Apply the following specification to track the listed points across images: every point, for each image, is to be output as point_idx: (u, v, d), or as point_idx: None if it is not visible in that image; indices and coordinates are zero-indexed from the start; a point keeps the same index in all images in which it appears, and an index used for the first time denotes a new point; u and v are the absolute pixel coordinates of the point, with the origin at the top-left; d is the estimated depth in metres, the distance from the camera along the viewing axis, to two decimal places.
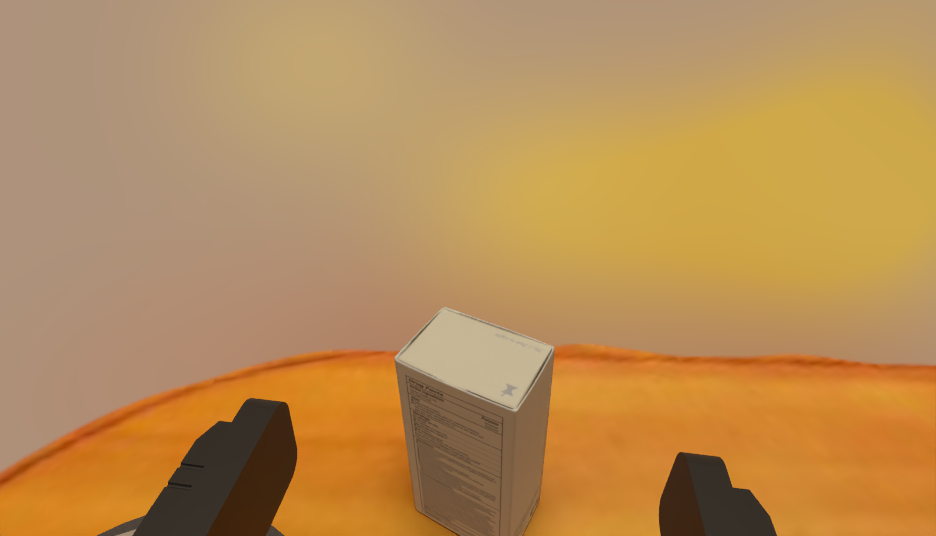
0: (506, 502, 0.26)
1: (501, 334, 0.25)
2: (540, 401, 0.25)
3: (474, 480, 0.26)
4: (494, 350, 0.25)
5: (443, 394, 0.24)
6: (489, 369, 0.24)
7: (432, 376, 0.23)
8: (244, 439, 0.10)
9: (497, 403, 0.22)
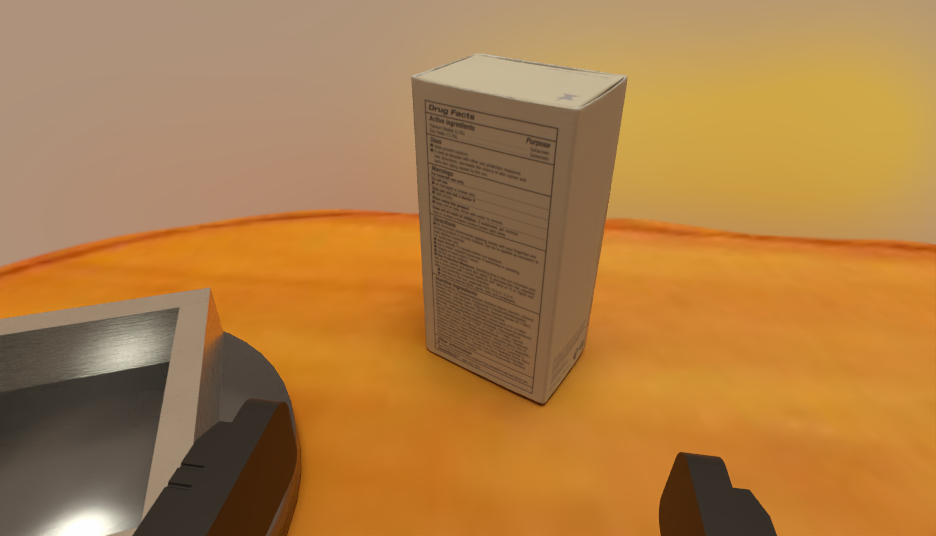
0: (550, 295, 0.19)
1: (554, 69, 0.19)
2: (604, 148, 0.18)
3: (507, 268, 0.19)
4: (545, 75, 0.18)
5: (474, 116, 0.17)
6: (539, 85, 0.17)
7: (461, 88, 0.17)
8: (244, 439, 0.10)
9: (552, 106, 0.16)
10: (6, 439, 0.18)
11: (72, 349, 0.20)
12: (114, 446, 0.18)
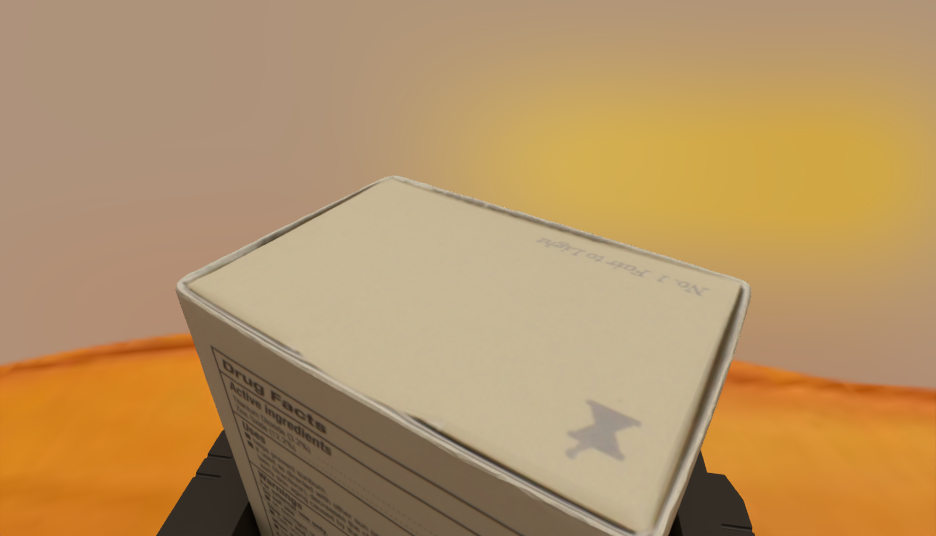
0: None
1: (558, 241, 0.08)
2: None
3: None
4: (535, 279, 0.07)
5: (324, 427, 0.06)
6: (515, 340, 0.06)
7: (286, 350, 0.06)
8: None
9: (550, 492, 0.04)
10: None
11: None
12: None
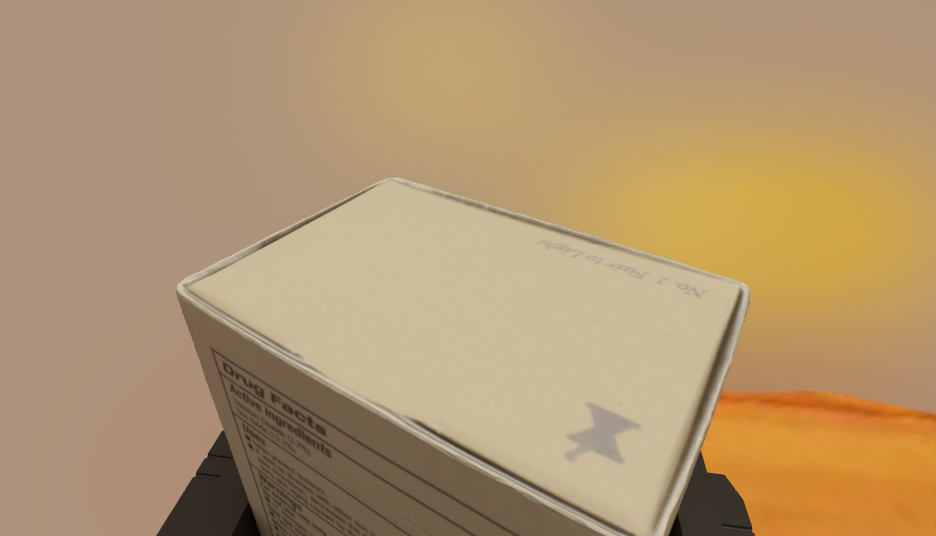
0: None
1: (557, 243, 0.08)
2: None
3: None
4: (536, 281, 0.07)
5: (325, 429, 0.06)
6: (515, 343, 0.06)
7: (285, 352, 0.06)
8: None
9: (551, 495, 0.05)
10: None
11: None
12: None
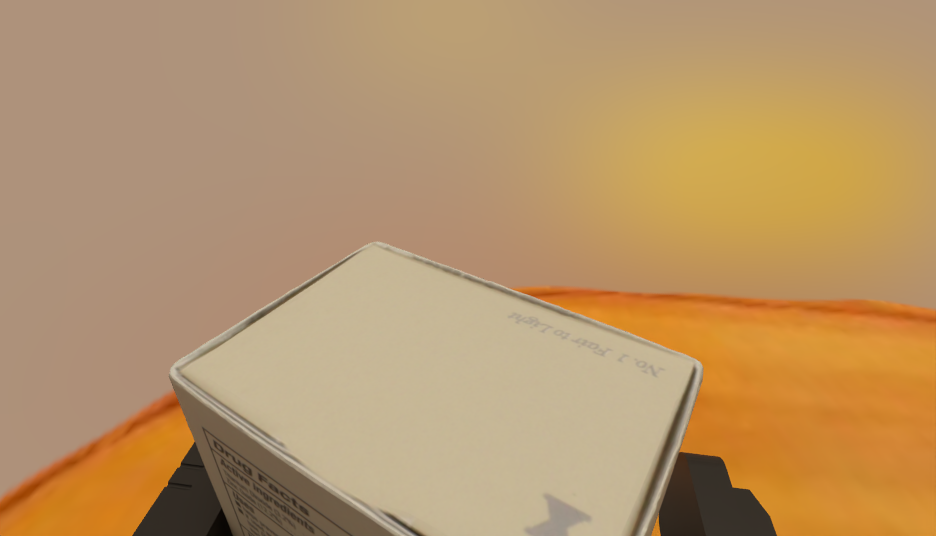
0: None
1: (528, 316, 0.08)
2: None
3: None
4: (504, 360, 0.07)
5: (308, 511, 0.06)
6: (482, 429, 0.06)
7: (270, 441, 0.06)
8: None
9: None
10: None
11: None
12: None
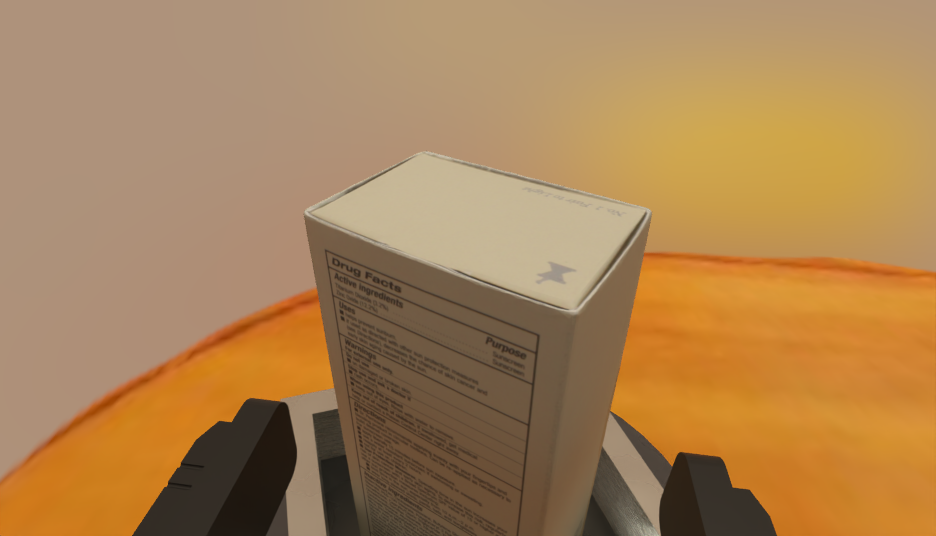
0: None
1: (536, 189, 0.12)
2: (616, 326, 0.11)
3: (464, 493, 0.13)
4: (521, 208, 0.11)
5: (400, 288, 0.10)
6: (509, 237, 0.10)
7: (378, 242, 0.10)
8: (244, 439, 0.10)
9: (528, 297, 0.09)
10: None
11: None
12: None
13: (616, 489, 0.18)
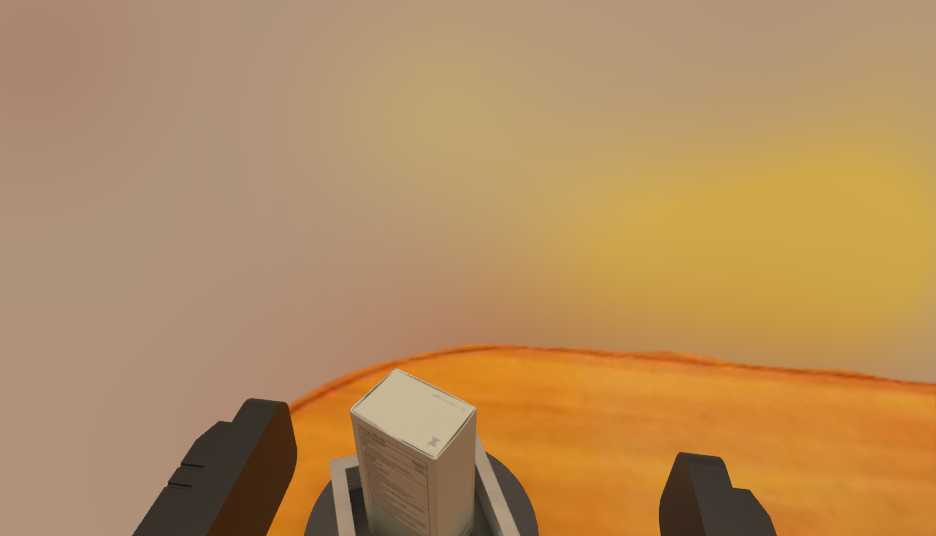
0: (434, 530, 0.32)
1: (437, 394, 0.32)
2: (463, 450, 0.31)
3: (410, 510, 0.32)
4: (429, 407, 0.31)
5: (384, 441, 0.30)
6: (421, 424, 0.30)
7: (377, 426, 0.30)
8: (244, 439, 0.10)
9: (423, 452, 0.29)
10: None
11: None
12: None
13: (489, 506, 0.38)
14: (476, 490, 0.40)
